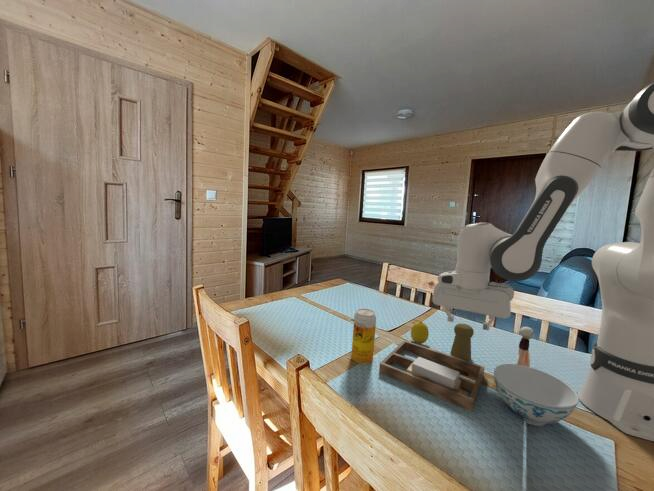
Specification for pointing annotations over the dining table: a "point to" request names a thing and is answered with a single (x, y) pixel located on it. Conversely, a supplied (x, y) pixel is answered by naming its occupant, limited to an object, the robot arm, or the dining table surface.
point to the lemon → (419, 332)
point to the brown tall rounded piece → (462, 342)
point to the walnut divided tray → (428, 385)
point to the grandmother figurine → (524, 346)
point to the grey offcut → (435, 372)
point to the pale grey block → (456, 388)
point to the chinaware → (534, 394)
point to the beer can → (363, 336)
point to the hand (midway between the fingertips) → (467, 325)
